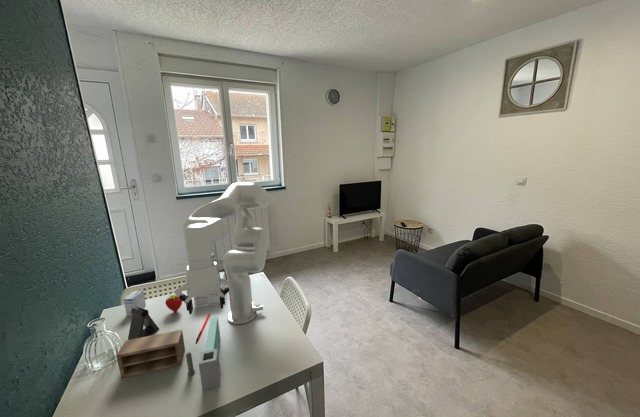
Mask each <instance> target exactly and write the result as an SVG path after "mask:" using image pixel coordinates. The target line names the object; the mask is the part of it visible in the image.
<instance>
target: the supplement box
mask: <svg viewBox="0 0 640 417" xmlns="http://www.w3.org/2000/svg"><path fill="white" fill-rule="evenodd" d="M219 273H220V278H221V279H225V280H227V278H226V271H219ZM226 286H227V285H224V284H221V288H222V289H223V290H224V289H225V288H226ZM193 303H194V307H195V309H196V308H202V307H208V306H216V305H220V296H219V295H218V294H217V293H216V294H211V295H205V296H199V297H193Z"/></svg>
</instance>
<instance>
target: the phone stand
mask: <svg viewBox="0 0 640 417" xmlns="http://www.w3.org/2000/svg"><path fill="white" fill-rule="evenodd" d="M136 308H138V309H135V308H132V310H131V314H132V316H131V320H130V324H129V325H130V326H129V330H128V331H129V332H128V336H127V340H131V339H136V338H141V337H146V336H152V335H154V334H155V333H157V332H158V331H159V330H160V327H159V326H158V325H157V324H156V322H155V321H154V320H153V318H152V317H151V316H150V314H149V310H148V309H146V308H140V307H136Z"/></svg>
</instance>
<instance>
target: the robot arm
mask: <svg viewBox="0 0 640 417" xmlns="http://www.w3.org/2000/svg"><path fill="white" fill-rule="evenodd" d="M269 204H270V194H269V192H268V191H267V190H266V189H265V188H264V187H262V186H261V185H260V184H258V183H256V182H234V183H231V184H230V185H228V186H227V187H226V189H225V190H224V191H223V193H222V194H221V195H220V196H219V198H217V199H214V200H212V201H211V202H208V203H207V204H204V205H202V206H200V207H198V208H196V209H195V210H194V211H193V212H192V213H191V214H190V215H189V216H188V218H187V219H186V220H185V222H184V224H183V235H184V242H185V243H184V244H185V251H186V256H187V266H186V271H185V284H183V285H182V286H179V287H178V288H176V289H175V291H174V295H175V294H176V295H177V296H178V297H179V299H180V300H182V302H184V304H185V305H186V306H185V307H186V312H188V314H189V315H191V314H193V312H194V306H193V299H192V298H194V297H199V296H205V295H211V294H216V293H217V294H218V295H219V296H220V304H219V306H220V309H221V310H222V309H224V305H226V298H225V297H226V295H227V294H228V297H229V306H230V311H229V312H228V314H227V321H228V322H229V323H231V324H233V325H243V324H246V323H249V322H251V321H252V320H254V319H255V318H256V316H257V314H258V313H257V312H258V311H263V310H264V305H261V304H260V303H257V304H255V303H254V301H253V296H252V295H253V294H252V282H251V277H250V275H249V273H261V272H262V271H263V270H264V267H265V264H266V259H267V253H268V252H267V251H268V248H269V247H268V246H269V231H268V230H267V229H266V228H264V227H255V226H256V217H255V215H254V214H253V213H252V211H251V210H250V209H265V208H266V207H268V205H269ZM235 214H236V220H235V221H236V222H235V226H234V230H233V235H232V240H231V241H232V242H231V243H232V245H233V247H234V248H237V249H230V250H228V251H227V252H225V253H224V254H223V258H222V264H223V265H222V266H223V268H224V272H225V276H226V278H225V279H226V280H225V279H221V278H220V273H219V272H220V269H219V266H218V263H217V261H219V256H218V255H214V250H213V242H216V241H217V242H218V241H220V240H222V239H224V238H225V237H226V236H227V234H228V233H229V224H228V221H227V220H226V218H229V217H231V216H234V215H235ZM221 284H224V285H226V288H225V289H224V290H223V289H222V288H221ZM184 291H186V294H185V293H183V292H184Z"/></svg>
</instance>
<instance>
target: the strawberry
mask: <svg viewBox="0 0 640 417" xmlns="http://www.w3.org/2000/svg"><path fill="white" fill-rule="evenodd" d="M182 304H183V301H182V300H180V299H179V297H178V296H177V295H176V294H175V293H174V294H171V295H168V298H166V299H165V305H166V307H167V308H168V309H169V310H171V311H172V312H174V313H178V310H179V309H180V308H181V307H182Z"/></svg>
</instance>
